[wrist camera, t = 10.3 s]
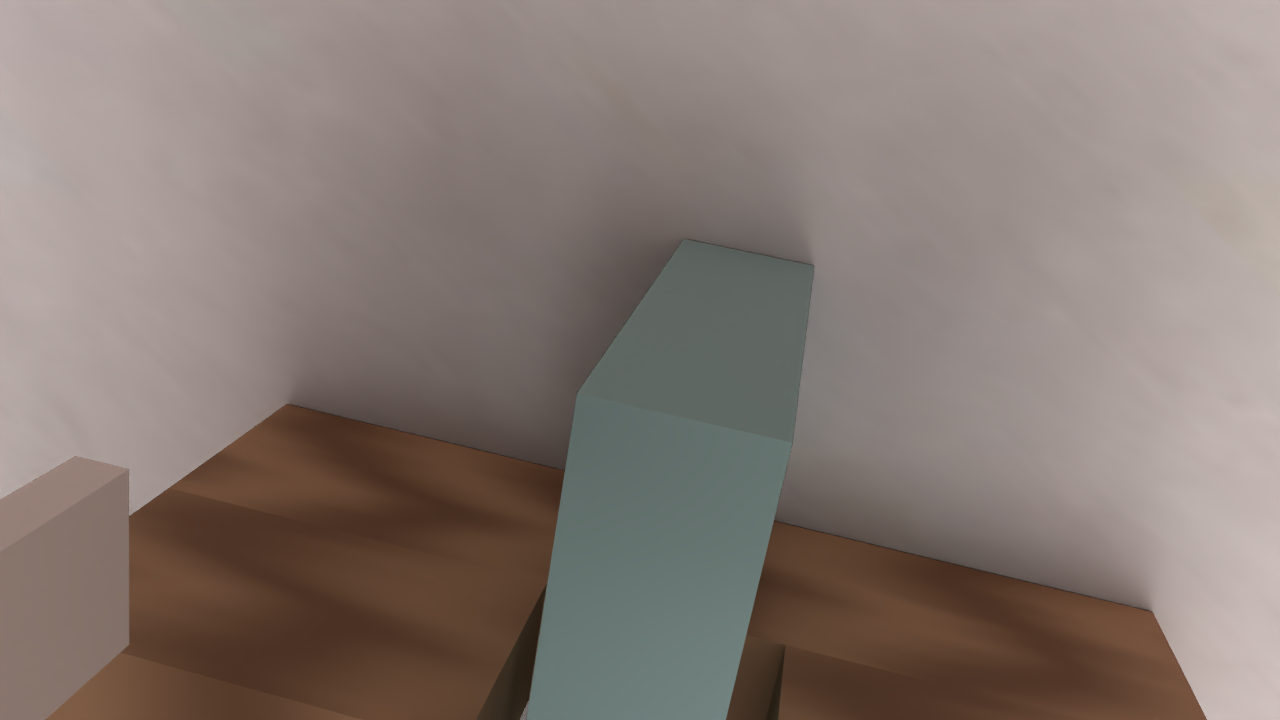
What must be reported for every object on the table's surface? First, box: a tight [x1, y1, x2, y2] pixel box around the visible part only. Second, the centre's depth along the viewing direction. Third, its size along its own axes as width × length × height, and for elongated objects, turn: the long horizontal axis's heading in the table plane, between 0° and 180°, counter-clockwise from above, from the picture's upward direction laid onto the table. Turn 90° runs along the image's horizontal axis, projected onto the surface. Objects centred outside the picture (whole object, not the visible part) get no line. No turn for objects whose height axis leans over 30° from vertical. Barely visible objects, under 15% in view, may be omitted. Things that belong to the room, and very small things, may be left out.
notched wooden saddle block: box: [45, 404, 1207, 720], centre depth 21 cm, size 22×3×10 cm, turn 80°
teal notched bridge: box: [526, 239, 814, 720], centre depth 21 cm, size 16×3×10 cm, turn 170°
